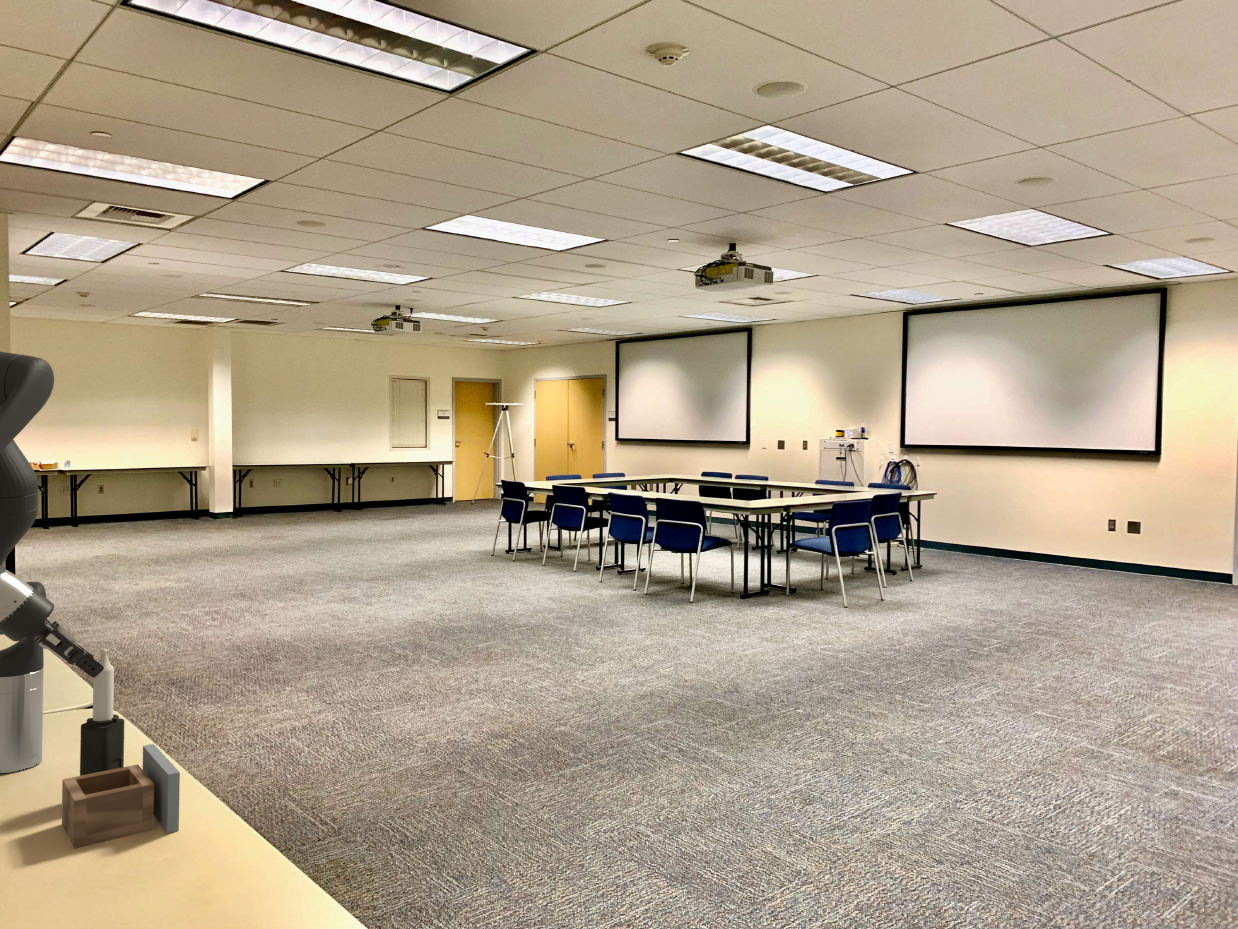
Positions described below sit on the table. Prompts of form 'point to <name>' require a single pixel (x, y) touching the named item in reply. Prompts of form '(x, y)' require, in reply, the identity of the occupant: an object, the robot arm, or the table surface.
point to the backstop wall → (163, 787)
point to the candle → (102, 727)
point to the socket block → (107, 805)
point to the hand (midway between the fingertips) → (94, 667)
